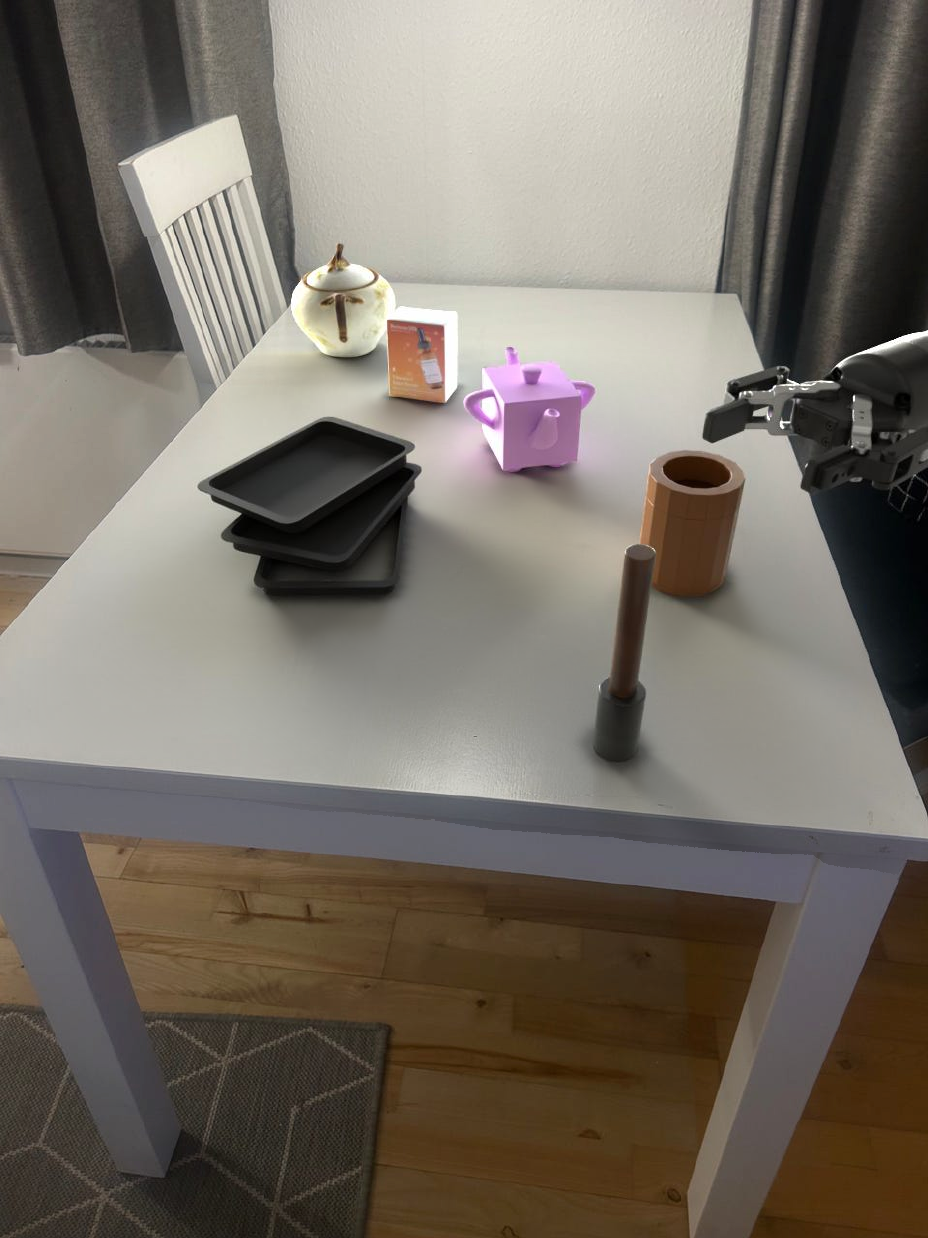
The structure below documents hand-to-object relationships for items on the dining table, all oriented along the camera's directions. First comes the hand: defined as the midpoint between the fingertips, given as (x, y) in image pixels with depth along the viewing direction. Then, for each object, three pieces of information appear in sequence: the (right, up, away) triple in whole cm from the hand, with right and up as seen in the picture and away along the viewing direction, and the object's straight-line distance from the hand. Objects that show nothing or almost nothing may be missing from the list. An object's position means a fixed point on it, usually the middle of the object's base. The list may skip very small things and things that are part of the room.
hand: (755, 452), depth 61 cm
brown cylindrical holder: (+2, -7, +28) cm, 29 cm away
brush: (-8, -21, +9) cm, 24 cm away
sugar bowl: (-37, +29, +75) cm, 89 cm away
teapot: (-12, +8, +47) cm, 50 cm away
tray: (-35, -1, +36) cm, 50 cm away
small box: (-25, +19, +62) cm, 70 cm away
